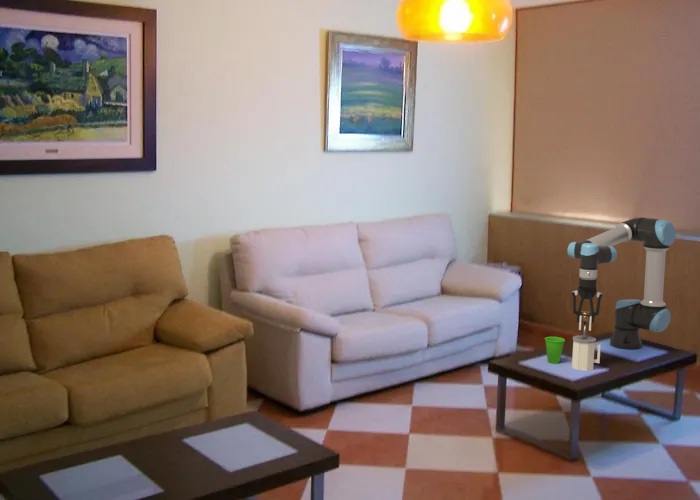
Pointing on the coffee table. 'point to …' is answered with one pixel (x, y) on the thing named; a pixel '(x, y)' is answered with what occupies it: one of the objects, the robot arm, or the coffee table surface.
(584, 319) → the plunger
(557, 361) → the cup
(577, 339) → the press
